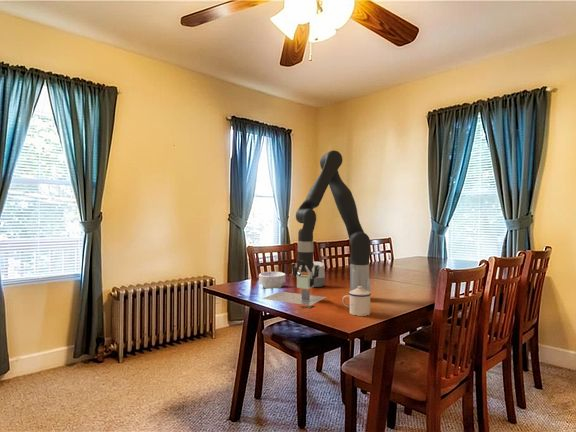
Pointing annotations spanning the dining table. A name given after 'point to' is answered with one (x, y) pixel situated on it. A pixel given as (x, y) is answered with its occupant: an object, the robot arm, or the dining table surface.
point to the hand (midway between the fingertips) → (305, 285)
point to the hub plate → (296, 298)
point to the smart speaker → (319, 275)
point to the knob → (303, 282)
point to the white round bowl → (272, 279)
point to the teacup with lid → (359, 301)
